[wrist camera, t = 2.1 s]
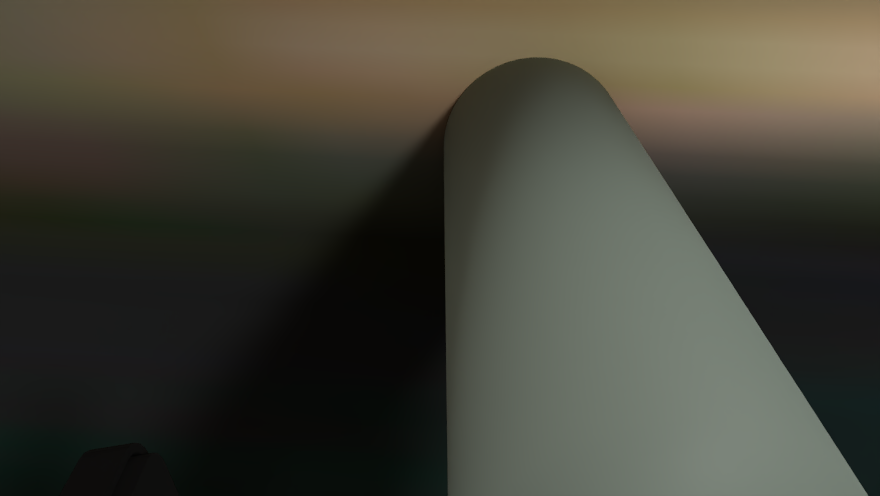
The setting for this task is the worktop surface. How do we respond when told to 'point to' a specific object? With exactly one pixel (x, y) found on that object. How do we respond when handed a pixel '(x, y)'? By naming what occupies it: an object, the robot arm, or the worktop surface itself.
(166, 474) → the robot arm
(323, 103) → the worktop surface
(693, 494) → the dowel
